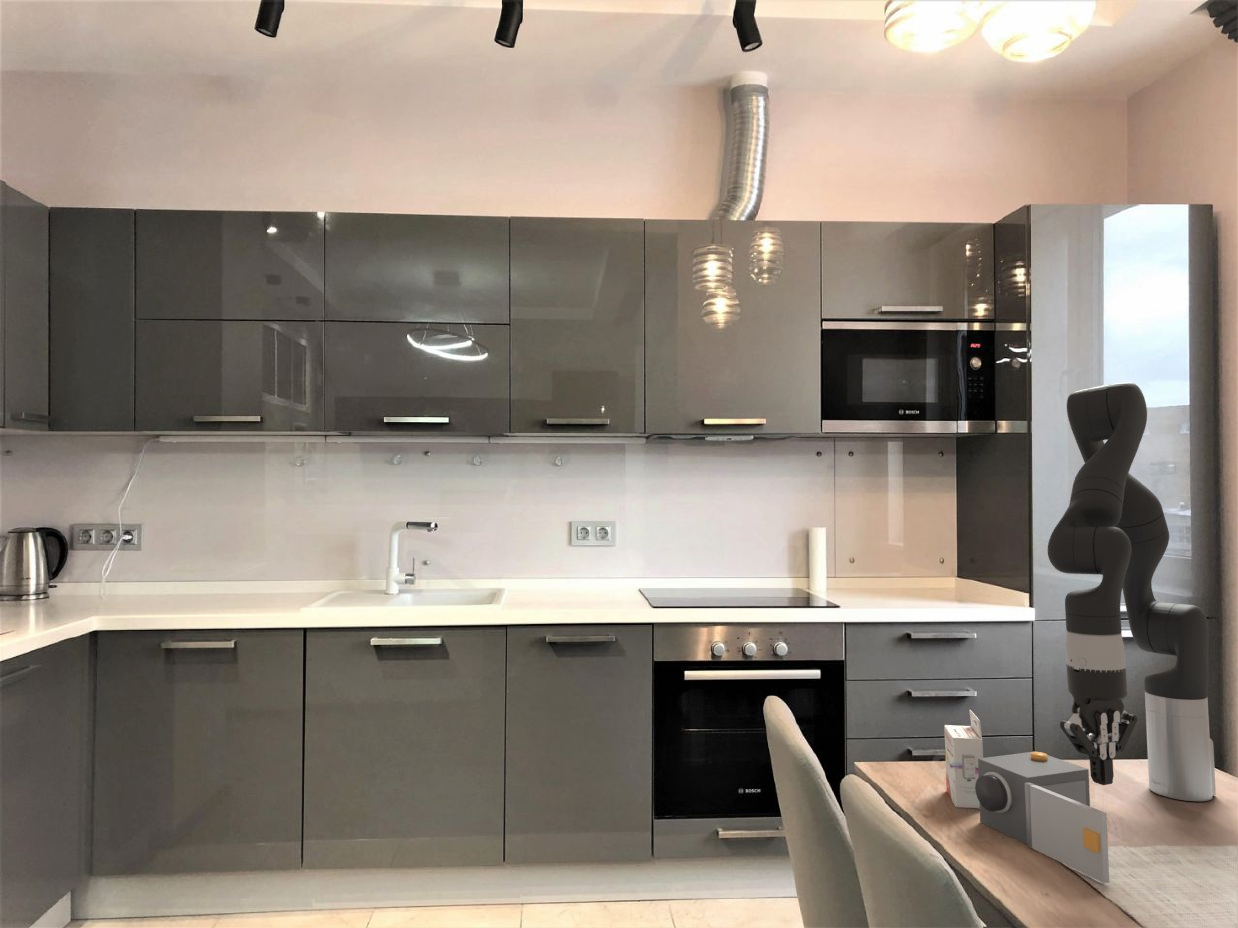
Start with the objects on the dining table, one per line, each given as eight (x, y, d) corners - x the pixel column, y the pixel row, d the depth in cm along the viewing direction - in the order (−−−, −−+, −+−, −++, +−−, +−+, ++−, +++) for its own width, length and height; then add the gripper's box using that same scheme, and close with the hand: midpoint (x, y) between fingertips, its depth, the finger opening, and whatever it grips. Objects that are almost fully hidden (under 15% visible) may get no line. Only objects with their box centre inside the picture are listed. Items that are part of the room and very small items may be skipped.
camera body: (1038, 812, 133) (1036, 746, 134) (1092, 835, 124) (1089, 764, 124) (970, 823, 129) (967, 754, 129) (1020, 848, 119) (1017, 773, 120)
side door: (1110, 882, 107) (1107, 812, 108) (1100, 883, 107) (1097, 814, 107) (1031, 843, 120) (1029, 781, 120) (1022, 845, 119) (1020, 783, 120)
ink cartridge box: (944, 790, 144) (942, 707, 145) (974, 792, 143) (971, 708, 144) (954, 807, 136) (952, 719, 137) (986, 809, 135) (983, 720, 136)
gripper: (1105, 654, 124) (1112, 768, 123) (1039, 662, 119) (1046, 781, 118) (1152, 663, 117) (1160, 784, 116) (1084, 672, 112) (1091, 798, 111)
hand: (1102, 782), depth 117 cm, fingers closed
